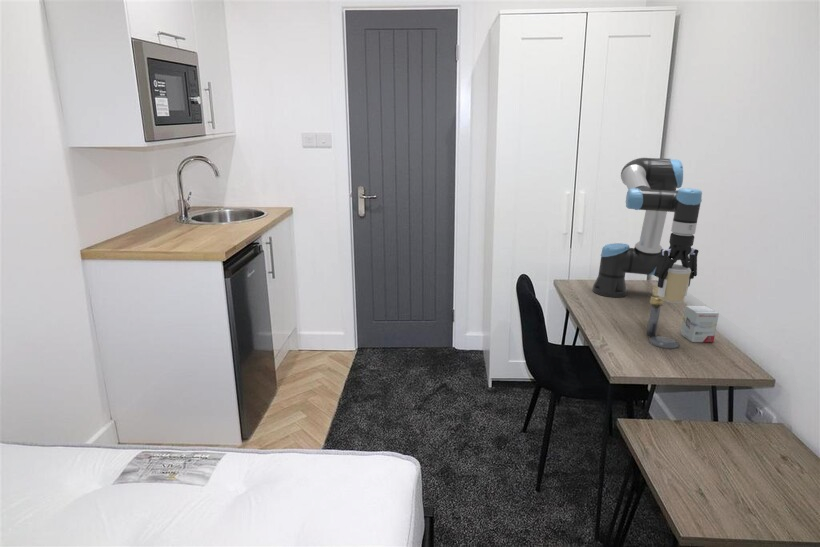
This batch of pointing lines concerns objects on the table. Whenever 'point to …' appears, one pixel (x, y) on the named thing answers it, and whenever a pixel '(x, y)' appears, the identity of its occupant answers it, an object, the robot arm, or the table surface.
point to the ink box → (699, 324)
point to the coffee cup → (676, 283)
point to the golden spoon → (656, 297)
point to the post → (653, 320)
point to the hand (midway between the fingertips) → (671, 295)
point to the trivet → (663, 342)
